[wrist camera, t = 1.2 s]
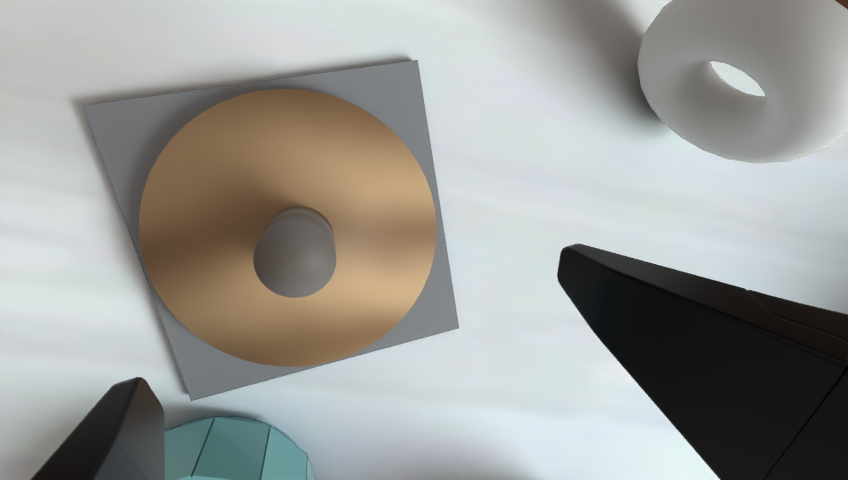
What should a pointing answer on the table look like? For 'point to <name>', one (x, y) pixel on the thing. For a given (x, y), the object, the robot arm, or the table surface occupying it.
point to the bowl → (233, 451)
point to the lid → (287, 227)
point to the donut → (761, 60)
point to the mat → (167, 114)
